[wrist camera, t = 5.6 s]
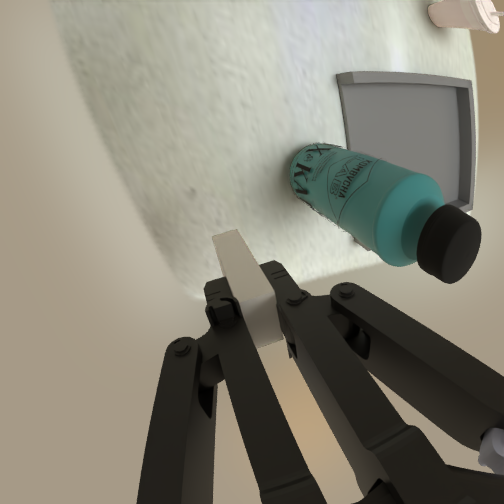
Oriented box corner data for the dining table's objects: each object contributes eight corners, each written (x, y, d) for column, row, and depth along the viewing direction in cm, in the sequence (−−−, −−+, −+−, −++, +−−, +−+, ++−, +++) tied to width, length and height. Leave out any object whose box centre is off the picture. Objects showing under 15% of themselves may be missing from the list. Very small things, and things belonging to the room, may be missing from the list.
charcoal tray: (336, 74, 25) (352, 71, 23) (456, 79, 28) (471, 80, 26) (354, 240, 35) (368, 251, 32) (459, 203, 38) (472, 209, 35)
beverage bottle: (344, 154, 30) (506, 216, 12) (322, 208, 32) (460, 311, 14) (294, 129, 27) (467, 170, 10) (270, 190, 29) (406, 301, 12)
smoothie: (443, 43, 26) (524, 44, 13) (416, 11, 23) (499, 0, 11) (452, 20, 24) (526, 18, 12) (427, -11, 21) (503, -22, 9)
